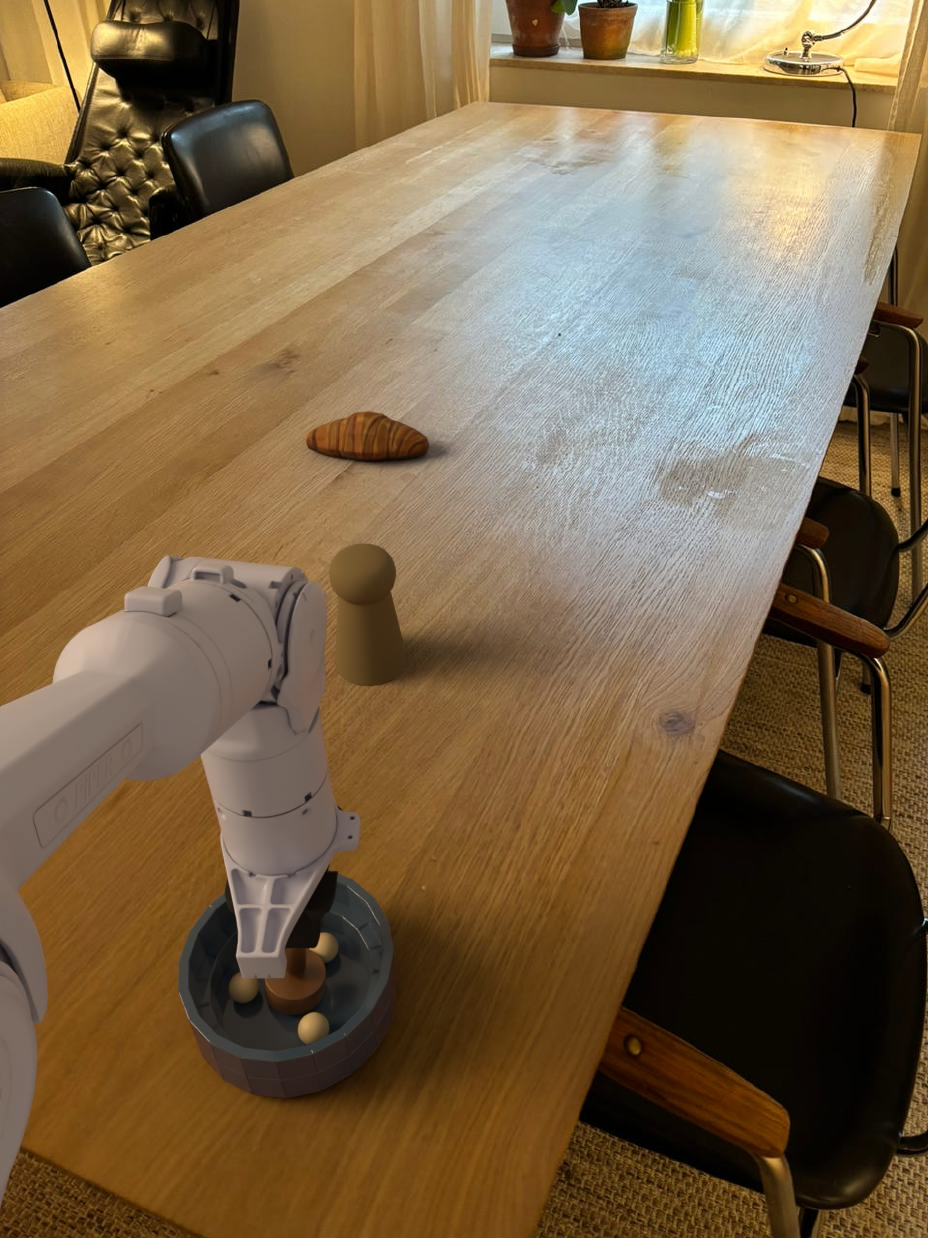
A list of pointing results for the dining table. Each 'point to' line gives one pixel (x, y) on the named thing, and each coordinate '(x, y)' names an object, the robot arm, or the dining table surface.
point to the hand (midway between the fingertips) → (302, 927)
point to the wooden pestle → (297, 983)
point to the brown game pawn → (366, 616)
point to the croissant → (367, 438)
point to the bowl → (268, 1040)
